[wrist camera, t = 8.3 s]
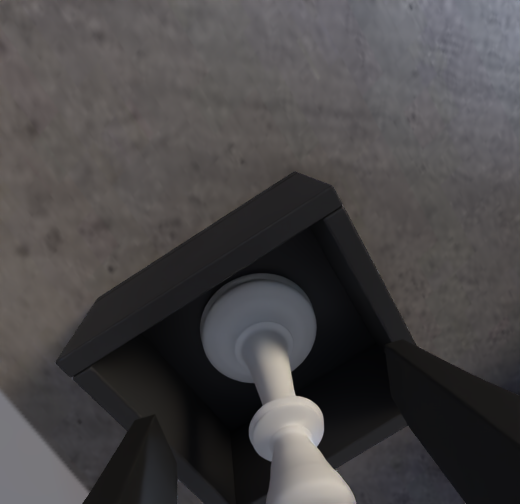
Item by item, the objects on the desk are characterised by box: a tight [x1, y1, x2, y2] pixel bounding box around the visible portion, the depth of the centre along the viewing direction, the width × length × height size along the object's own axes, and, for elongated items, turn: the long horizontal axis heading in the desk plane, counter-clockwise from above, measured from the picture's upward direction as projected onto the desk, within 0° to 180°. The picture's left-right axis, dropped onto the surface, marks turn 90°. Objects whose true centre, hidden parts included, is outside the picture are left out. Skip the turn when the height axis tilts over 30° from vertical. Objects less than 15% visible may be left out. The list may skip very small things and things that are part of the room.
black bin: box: [56, 171, 417, 504], centre depth 13 cm, size 9×9×4 cm
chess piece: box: [200, 273, 356, 504], centre depth 10 cm, size 5×5×10 cm
